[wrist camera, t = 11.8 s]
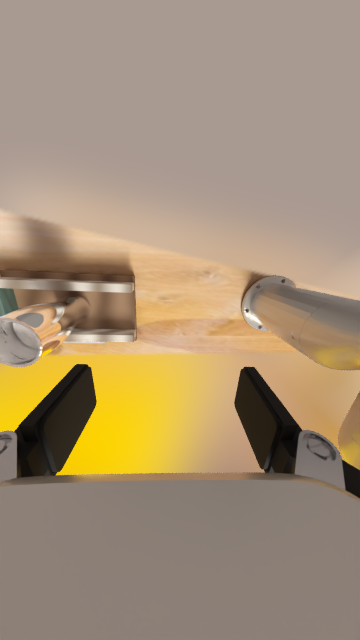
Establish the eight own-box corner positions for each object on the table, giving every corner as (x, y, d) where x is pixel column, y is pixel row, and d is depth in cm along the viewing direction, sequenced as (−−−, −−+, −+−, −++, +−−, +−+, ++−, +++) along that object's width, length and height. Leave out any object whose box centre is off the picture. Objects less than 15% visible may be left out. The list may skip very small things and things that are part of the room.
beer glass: (68, 328, 35) (3, 375, 21) (50, 297, 33) (-38, 326, 19) (99, 319, 35) (54, 359, 21) (83, 287, 33) (20, 308, 18)
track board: (134, 275, 34) (130, 277, 30) (136, 338, 38) (133, 347, 34) (4, 269, 31) (-19, 271, 28) (24, 336, 36) (7, 346, 32)
